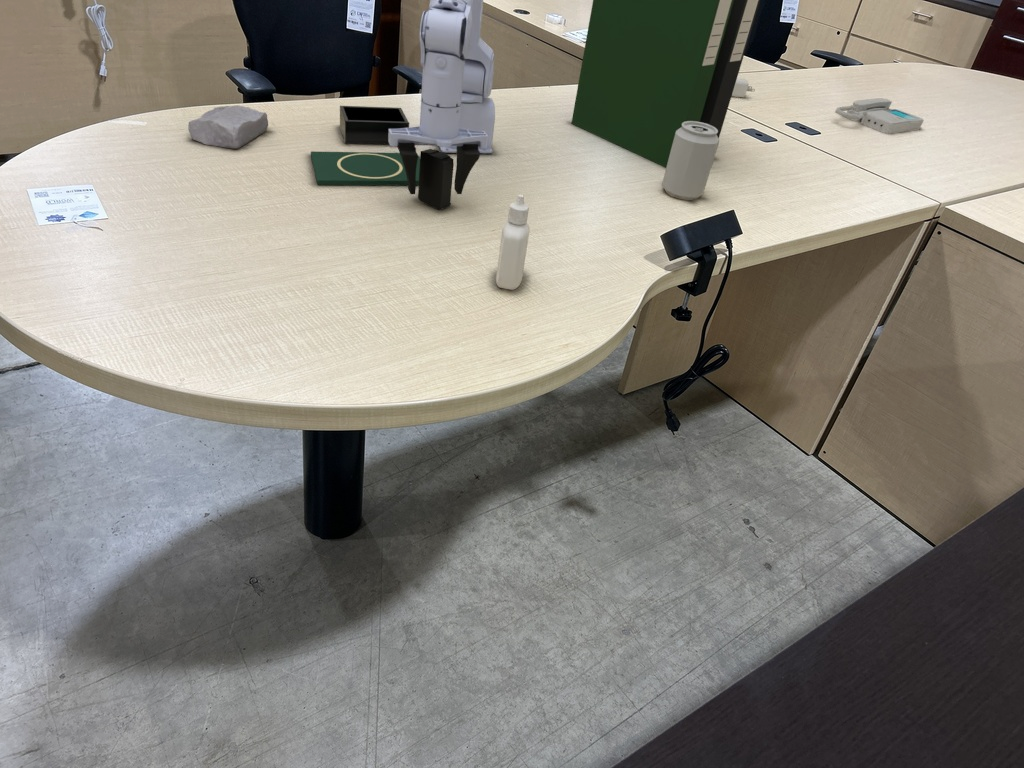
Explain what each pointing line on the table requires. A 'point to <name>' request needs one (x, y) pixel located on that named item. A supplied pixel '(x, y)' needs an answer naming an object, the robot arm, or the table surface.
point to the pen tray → (370, 123)
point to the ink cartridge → (435, 178)
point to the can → (690, 160)
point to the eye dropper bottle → (513, 246)
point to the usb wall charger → (741, 88)
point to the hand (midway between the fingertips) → (434, 191)
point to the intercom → (880, 116)
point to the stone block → (228, 126)
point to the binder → (659, 69)
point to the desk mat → (360, 168)
